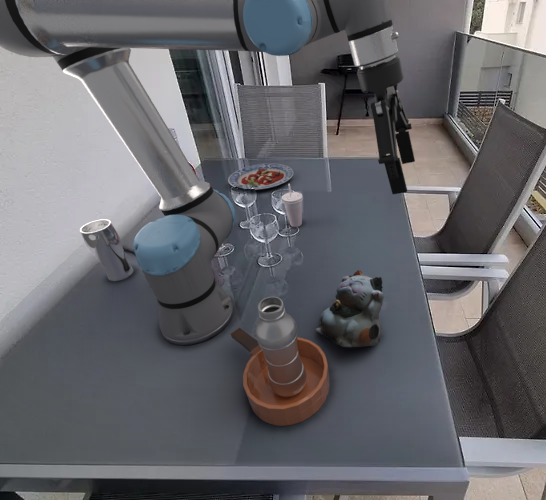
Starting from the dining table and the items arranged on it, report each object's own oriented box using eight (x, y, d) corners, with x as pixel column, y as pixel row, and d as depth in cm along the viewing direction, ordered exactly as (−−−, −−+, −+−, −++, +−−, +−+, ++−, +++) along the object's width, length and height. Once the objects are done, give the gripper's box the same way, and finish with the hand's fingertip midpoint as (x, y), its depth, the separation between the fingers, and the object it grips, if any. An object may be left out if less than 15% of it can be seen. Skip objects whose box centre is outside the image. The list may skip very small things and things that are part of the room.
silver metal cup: (141, 269, 94) (118, 221, 86) (117, 285, 89) (90, 236, 81) (124, 263, 97) (99, 216, 88) (100, 278, 92) (72, 230, 83)
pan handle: (231, 343, 69) (227, 334, 67) (244, 333, 71) (241, 324, 69) (257, 365, 64) (254, 356, 63) (270, 353, 66) (268, 344, 65)
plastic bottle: (301, 405, 60) (284, 323, 48) (264, 398, 61) (239, 317, 50) (312, 373, 65) (299, 292, 53) (278, 368, 66) (258, 288, 55)
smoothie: (282, 227, 110) (274, 186, 102) (292, 217, 115) (286, 177, 107) (300, 230, 108) (294, 188, 100) (309, 220, 112) (304, 180, 104)
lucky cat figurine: (307, 324, 75) (317, 261, 73) (354, 322, 81) (365, 265, 79) (339, 357, 63) (353, 282, 61) (392, 352, 69) (406, 284, 67)
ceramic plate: (264, 164, 156) (262, 157, 154) (307, 175, 143) (306, 168, 141) (216, 185, 139) (214, 178, 137) (259, 200, 126) (258, 192, 124)
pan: (232, 392, 63) (226, 375, 60) (292, 342, 71) (288, 325, 69) (286, 444, 55) (281, 427, 52) (345, 380, 64) (344, 363, 61)
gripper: (386, 71, 48) (416, 204, 59) (408, 43, 67) (428, 148, 78) (336, 86, 50) (374, 210, 62) (370, 55, 69) (395, 155, 81)
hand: (404, 176), depth 70 cm, fingers open, 13 cm apart
